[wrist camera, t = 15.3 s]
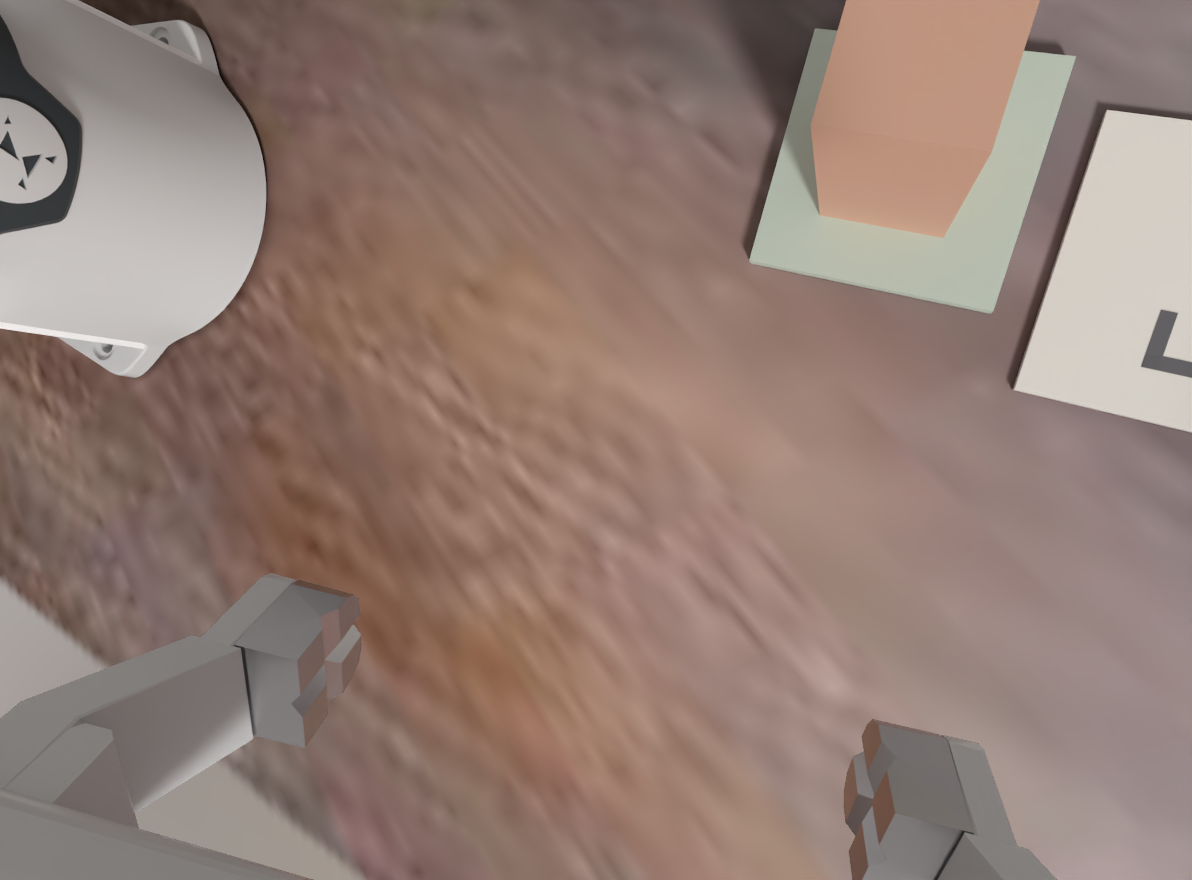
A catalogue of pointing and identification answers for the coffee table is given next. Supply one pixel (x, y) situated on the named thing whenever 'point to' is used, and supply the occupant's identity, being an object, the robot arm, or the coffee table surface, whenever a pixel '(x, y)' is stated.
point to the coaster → (900, 258)
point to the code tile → (1123, 281)
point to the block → (914, 107)
